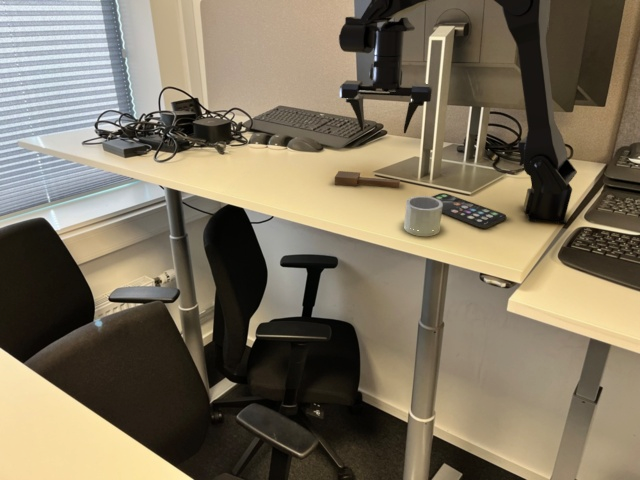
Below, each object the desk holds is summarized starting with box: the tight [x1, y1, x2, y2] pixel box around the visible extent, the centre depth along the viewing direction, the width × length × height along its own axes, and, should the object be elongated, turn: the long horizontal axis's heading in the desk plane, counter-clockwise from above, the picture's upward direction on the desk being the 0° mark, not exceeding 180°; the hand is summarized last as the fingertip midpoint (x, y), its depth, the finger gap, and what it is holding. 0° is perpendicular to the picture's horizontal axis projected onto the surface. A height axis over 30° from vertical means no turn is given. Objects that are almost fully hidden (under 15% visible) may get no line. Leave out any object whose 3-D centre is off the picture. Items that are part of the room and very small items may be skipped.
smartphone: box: [431, 192, 507, 229], centre depth 89 cm, size 7×1×15 cm
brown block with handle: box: [334, 170, 401, 189], centre depth 103 cm, size 14×4×2 cm, turn 76°
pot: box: [403, 195, 443, 237], centre depth 82 cm, size 6×6×5 cm
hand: (383, 131), depth 102 cm, fingers open, 9 cm apart
